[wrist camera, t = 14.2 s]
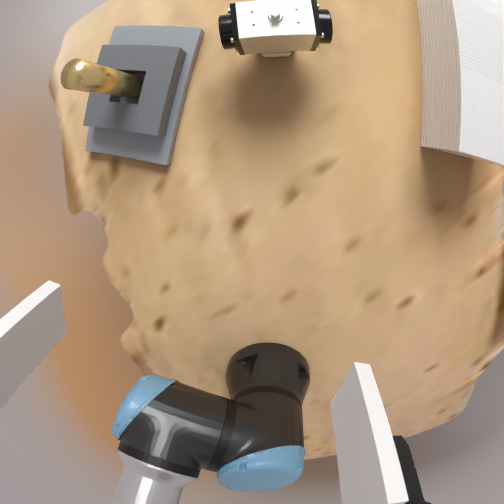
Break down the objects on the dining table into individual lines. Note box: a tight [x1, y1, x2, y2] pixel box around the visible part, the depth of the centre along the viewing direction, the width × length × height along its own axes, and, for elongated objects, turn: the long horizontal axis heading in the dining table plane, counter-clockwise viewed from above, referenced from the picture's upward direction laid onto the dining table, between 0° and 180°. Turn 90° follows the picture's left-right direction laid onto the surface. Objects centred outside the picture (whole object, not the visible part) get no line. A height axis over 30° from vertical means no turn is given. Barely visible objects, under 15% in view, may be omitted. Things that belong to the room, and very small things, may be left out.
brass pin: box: [61, 59, 144, 99], centre depth 28 cm, size 3×3×15 cm
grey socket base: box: [83, 26, 204, 165], centre depth 34 cm, size 20×14×4 cm
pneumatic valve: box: [219, 0, 333, 58], centre depth 27 cm, size 6×12×12 cm, turn 95°
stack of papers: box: [417, 0, 504, 166], centre depth 25 cm, size 32×11×11 cm, turn 178°
